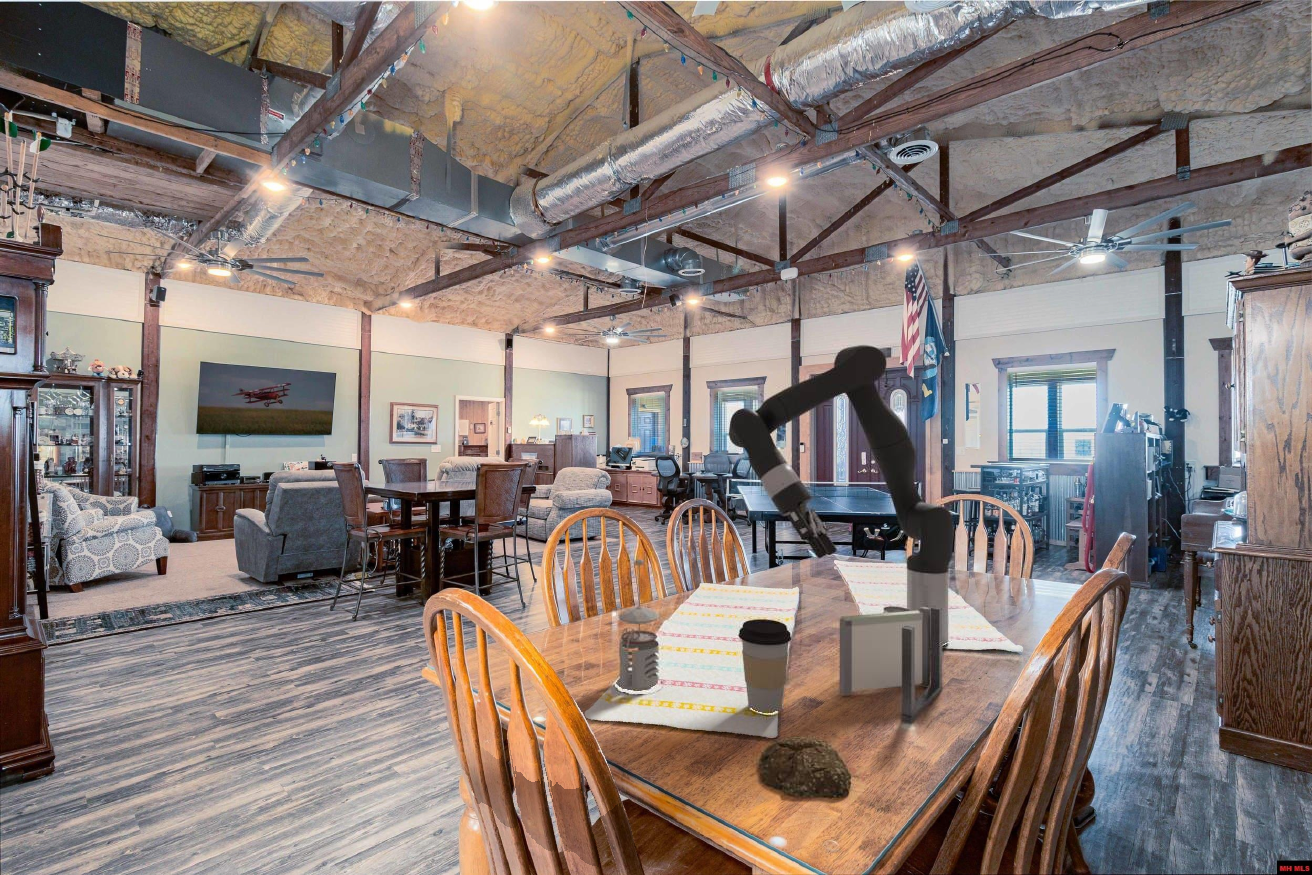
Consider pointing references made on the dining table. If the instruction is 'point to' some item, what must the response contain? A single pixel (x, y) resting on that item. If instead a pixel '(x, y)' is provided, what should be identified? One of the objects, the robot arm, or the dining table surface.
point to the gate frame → (909, 704)
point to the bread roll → (805, 768)
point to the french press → (647, 646)
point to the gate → (881, 649)
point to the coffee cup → (765, 663)
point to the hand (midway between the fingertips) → (828, 554)
